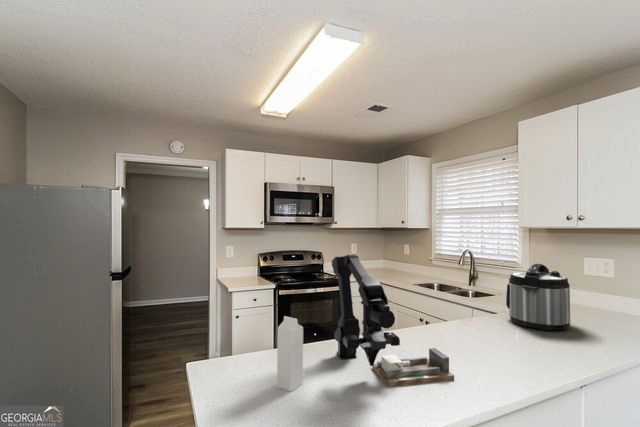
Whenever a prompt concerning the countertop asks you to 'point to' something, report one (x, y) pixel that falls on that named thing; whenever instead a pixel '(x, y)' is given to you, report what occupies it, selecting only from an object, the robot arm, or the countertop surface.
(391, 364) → the carriage
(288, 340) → the milk
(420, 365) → the gauge base
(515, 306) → the pressure cooker
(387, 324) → the robot arm
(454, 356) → the countertop surface
